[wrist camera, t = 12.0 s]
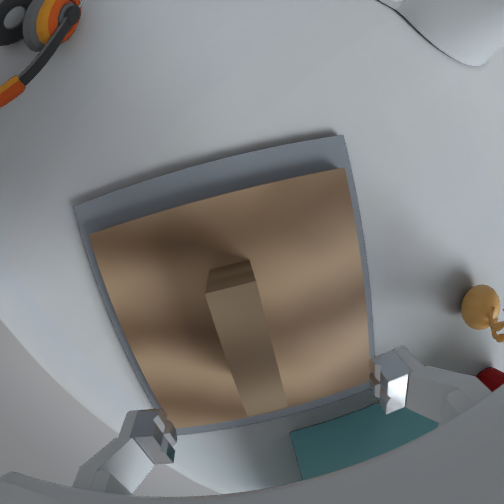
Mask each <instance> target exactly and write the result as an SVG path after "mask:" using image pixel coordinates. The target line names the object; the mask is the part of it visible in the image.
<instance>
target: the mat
mask: <svg viewBox="0 0 504 504" xmlns="http://www.w3.org/2000/svg"><path fill="white" fill-rule="evenodd" d="M344 167H345V172H346V176H347V181H348V186H349V191H350V196H351V201H352V207H353V212H354V218H355V224H356V230H357V236H358V243H359V249H360V256H361V264H362V272H363V280H364V289H365V299H366V309H367V321H368V335H369V353H370V359H371V358H374V357H375V354H374V332H373V316H372V303H371V292H370V282H369V273H368V264H367V257H366V249H365V242H364V235H363V229H362V222H361V216H360V211H359V205H358V199H357V194H356V189H355V184H354V179H353V174H352V170H351V165H350V160H349V156H348V152H347V148H346V143H345V139H344V135H338V136H331V137H325V138H319V139H313V140H307V141H301V142H296V143H291V144H285V145H280V146H275V147H270V148H266V149H261V150H256V151H252V152H248V153H243V154H239V155H235V156H231V157H227V158H223V159H219V160H215V161H211V162H207V163H203V164H200V165H196V166H192V167H189V168H185V169H182V170H178V171H175V172H171V173H168V174H165V175H162V176H158V177H155V178H152V179H149V180H146V181H143V182H140V183H137V184H134V185H131V186H128V187H125V188H122V189H119V190H116V191H113V192H111V193H108V194H105V195H102V196H100V197H97V198H94V199H92V200H89V201H86V202H84V203H81V204H79V205H76V206H74V210H75V214H76V218H77V221H78V225H79V229H80V232H81V236H82V239H83V243H84V246H85V249H86V252H87V256H88V259H89V262H90V265H91V268H92V271H93V274H94V277H95V279H96V282H97V285H98V288H99V290H100V293H101V296H102V298H103V301H104V304H105V306H106V309H107V311H108V314H109V316H110V318H111V321H112V323H113V326H114V328H115V330H116V333H117V335H118V337H119V339H120V342H121V344H122V346H123V348H124V350H125V352H126V354H127V357H128V359H129V361H130V363H131V365H132V367H133V369H134V371H135V373H136V375H137V377H138V379H139V381H140V382H141V384H142V386H143V388H144V390H145V392H146V394H147V395H148V397H149V399H150V401H151V403H152V404H153V406H154V408H155V409H162V408H161V406H160V404H159V403H158V401H157V399H156V397H155V395H154V393H153V392H152V390H151V388H150V386H149V384H148V382H147V380H146V378H145V376H144V374H143V372H142V370H141V368H140V366H139V364H138V362H137V360H136V358H135V356H134V354H133V352H132V349H131V347H130V345H129V343H128V341H127V338H126V336H125V334H124V331H123V329H122V327H121V324H120V322H119V320H118V317H117V315H116V312H115V310H114V307H113V305H112V302H111V300H110V297H109V294H108V292H107V289H106V286H105V283H104V281H103V278H102V275H101V272H100V269H99V266H98V263H97V260H96V257H95V254H94V251H93V247H92V244H91V241H90V237H89V234H92V233H95V232H97V231H100V230H103V229H106V228H109V227H112V226H116V225H119V224H122V223H125V222H128V221H131V220H134V219H138V218H141V217H144V216H147V215H151V214H154V213H157V212H161V211H164V210H167V209H171V208H174V207H178V206H181V205H185V204H188V203H192V202H196V201H199V200H203V199H207V198H210V197H214V196H218V195H222V194H226V193H230V192H234V191H238V190H242V189H246V188H250V187H254V186H258V185H262V184H267V183H271V182H275V181H280V180H284V179H289V178H293V177H298V176H303V175H307V174H312V173H317V172H322V171H327V170H332V169H337V168H344ZM370 373H371V370H370ZM368 389H371V388H370V384H369V382H366V383H364V384H361V385H358V386H356V387H353V388H350V389H347V390H344V391H342V392H339V393H336V394H333V395H330V396H327V397H323V398H320V399H317V400H314V401H310V402H307V403H303V404H300V405H296V406H293V407H289V408H285V409H281V410H277V411H273V412H269V413H265V414H261V415H256V416H251V417H247V418H242V419H237V420H231V421H226V422H220V423H214V424H207V425H201V426H193V427H185V428H177V429H176V433H177V435H186V434H195V433H202V432H209V431H216V430H222V429H228V428H234V427H239V426H244V425H249V424H254V423H259V422H263V421H268V420H272V419H276V418H280V417H284V416H288V415H292V414H296V413H299V412H303V411H306V410H310V409H313V408H316V407H320V406H323V405H326V404H329V403H332V402H335V401H338V400H341V399H344V398H347V397H350V396H352V395H355V394H358V393H360V392H363V391H366V390H368ZM167 419H168V418H167Z"/></svg>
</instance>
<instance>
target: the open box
mask: <svg viewBox="0 0 504 504" xmlns="http://www.w3.org/2000/svg"><path fill="white" fill-rule="evenodd" d="M438 425H439V423H438V422H436V421H434V420H431V419H429V418H427V417H425V416H423V415H420V414H418V413H416V412H414V411H412V410H410V409H408V408H406V406H405V407H403V408H401V409H398V410H396V411H393V412H391V413H388V414H385V412H384V410H383V409H382V407H381V406H380V404H379V403H377V404H374V405H372V406H369V407H367V408H364V409H362V410H359V411H356V412H354V413H351V414H348V415H345V416H342V417H339V418H337V419H334V420H330V421H327V422H324V423H321V424H318V425H314V426H311V427H308V428H304V429H301V430H297V431H293V432H290V435H291V439H292V443H293V447H294V450H295V454H296V458H297V461H298V465H299V469H300V473H301V476H302V480H307V479H311V478H315V477H318V476H322V475H325V474H328V473H332V472H335V471H338V470H341V469H344V468H347V467H350V466H353V465H356V464H359V463H361V462H364V461H367V460H369V459H372V458H374V457H377V456H379V455H382V454H384V453H386V452H389V451H391V450H393V449H395V448H398V447H400V446H402V445H404V444H406V443H408V442H411V441H413V440H415V439H417V438H419V437H421V436H422V435H424V434H426V433H428V432H430V431H432V430H434V429H436V428H437V427H438Z"/></svg>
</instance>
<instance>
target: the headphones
mask: <svg viewBox="0 0 504 504" xmlns="http://www.w3.org/2000/svg"><path fill="white" fill-rule="evenodd" d="M83 2H84V0H81V2H80V0H0V46H3V45H9V44H12V43H14V42H16V41H18V40H19V39H21V38H22V37H24V41H25V43H26V45H27V47H28V48H29V49H31V50H32V51H35V52H39V51H40V53H39V54H38V55H37V56H36V58H35V59H34V60H33V61H32V62H31V64H30V65H29V66H28V67H27V68H26V69H25V70H24V71H23V72H22V73H21V74H20V75H19V76H18V75H17V76H14V77H12V78H11V79H10V80H8V81H7V82H6V83H4V84H3V85H2V86H0V108H1V107H3V106H4V105H6V104H8V103H9V102H10V101H12V100H13V99H15V98H16V97H17V96H19V95H20V94H21V93H22V92H23V91H24V90H25V88H26V87H25V86H26V85H27V84H28V83H29V82H30V81H31V80H32V79H33V78H34V77H35V76H36V75H37V74H38V73H39V72H40V71H41V69H42V68H43V67H44V66H45V64H46V63H47V62H48V60H49V59H50V58H51V56H52V55H53V54H54V52H55V51H56V49H57V48H58V46H59V45H60V44H61V43H63V42H65V41H66V40H68V39H69V38H70V36H71V35H72V34H73V33H74V31H75V29H76V27H77V25H78V23H79V19H80V16H81V5H82V4H83Z"/></svg>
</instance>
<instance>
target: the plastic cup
mask: <svg viewBox="0 0 504 504" xmlns="http://www.w3.org/2000/svg"><path fill="white" fill-rule="evenodd" d="M477 378H478V379H479V380H480V381H481V382H482V383H483V384H484V385H485V386H486V387H487V388H488V389H489V390H490V391H491V392H493V391H495V390H496V389H497V388H499V387H500V386H501V385H503V384H504V373H503V372H501V371H499V370H497V369H495V368H491V367H489V368H486V369H485V370H483V371H482V372H481V373H480V374H479V375H478V376H477Z"/></svg>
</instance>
